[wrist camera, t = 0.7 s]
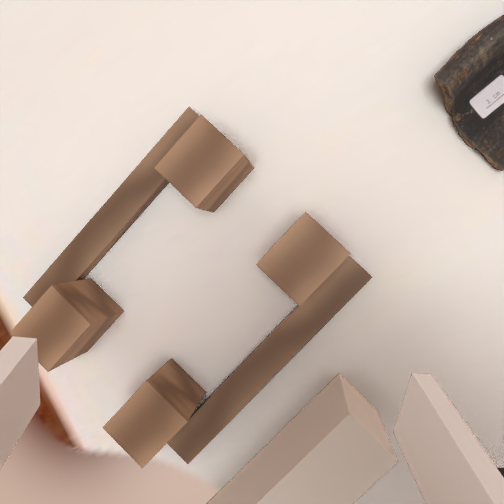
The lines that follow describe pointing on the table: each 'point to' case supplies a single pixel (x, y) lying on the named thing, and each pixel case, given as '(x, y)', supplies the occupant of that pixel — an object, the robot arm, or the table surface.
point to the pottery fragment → (478, 91)
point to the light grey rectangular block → (318, 454)
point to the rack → (107, 311)
